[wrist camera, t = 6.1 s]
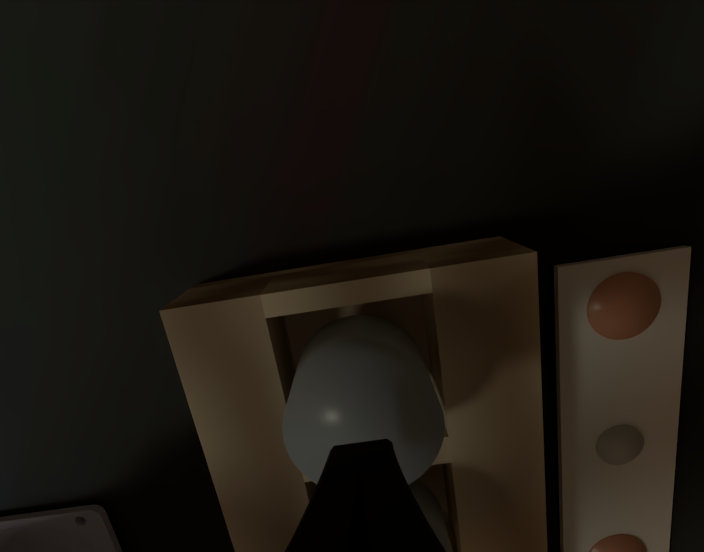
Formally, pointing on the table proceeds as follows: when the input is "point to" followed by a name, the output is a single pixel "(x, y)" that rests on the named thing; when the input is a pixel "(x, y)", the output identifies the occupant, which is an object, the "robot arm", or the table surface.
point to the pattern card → (619, 397)
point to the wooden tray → (441, 362)
